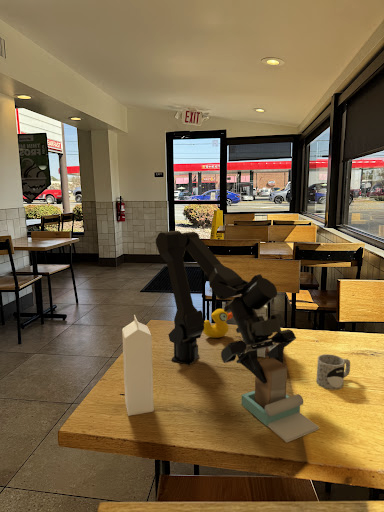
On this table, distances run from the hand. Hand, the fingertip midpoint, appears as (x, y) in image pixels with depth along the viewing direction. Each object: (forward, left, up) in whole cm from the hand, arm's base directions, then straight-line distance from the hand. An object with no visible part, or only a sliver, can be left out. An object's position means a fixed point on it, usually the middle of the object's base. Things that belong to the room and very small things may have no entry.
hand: (274, 380), depth 84 cm
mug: (+11, +21, -8) cm, 25 cm away
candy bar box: (-13, +31, -8) cm, 34 cm away
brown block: (-1, +1, -7) cm, 7 cm away
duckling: (-29, +35, -8) cm, 46 cm away
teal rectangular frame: (+1, -1, -8) cm, 8 cm away
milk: (-29, -12, -8) cm, 33 cm away
